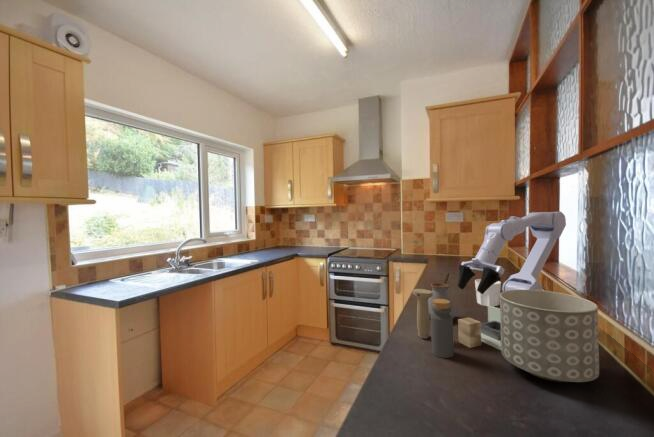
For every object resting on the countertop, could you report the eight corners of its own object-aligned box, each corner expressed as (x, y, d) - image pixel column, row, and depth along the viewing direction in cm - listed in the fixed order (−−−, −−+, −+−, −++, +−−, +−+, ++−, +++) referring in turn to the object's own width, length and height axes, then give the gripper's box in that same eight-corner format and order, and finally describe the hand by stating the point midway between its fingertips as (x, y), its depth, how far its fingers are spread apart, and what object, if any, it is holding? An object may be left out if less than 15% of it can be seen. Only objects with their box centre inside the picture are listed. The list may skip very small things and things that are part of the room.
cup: (506, 307, 120) (506, 283, 120) (482, 307, 120) (482, 284, 120) (493, 300, 130) (492, 278, 130) (471, 300, 130) (470, 279, 130)
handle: (428, 342, 88) (427, 294, 88) (410, 336, 93) (409, 290, 93) (436, 337, 92) (435, 291, 92) (418, 332, 96) (417, 288, 96)
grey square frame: (498, 327, 96) (498, 319, 96) (520, 335, 89) (520, 327, 89) (477, 331, 93) (477, 323, 93) (498, 340, 86) (498, 332, 86)
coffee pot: (452, 326, 101) (451, 284, 101) (420, 320, 108) (419, 280, 108) (464, 309, 118) (463, 273, 118) (435, 305, 125) (435, 271, 125)
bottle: (452, 350, 83) (451, 298, 83) (454, 359, 78) (453, 304, 78) (431, 347, 85) (430, 297, 85) (431, 356, 80) (430, 303, 79)
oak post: (469, 339, 90) (469, 317, 90) (481, 345, 86) (480, 322, 86) (458, 341, 88) (458, 319, 88) (469, 347, 84) (469, 324, 84)
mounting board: (490, 325, 100) (489, 305, 100) (536, 344, 85) (536, 320, 85) (461, 331, 96) (460, 310, 96) (504, 352, 81) (503, 327, 81)
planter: (608, 407, 57) (606, 317, 57) (498, 378, 68) (496, 303, 68) (591, 365, 73) (589, 295, 73) (503, 348, 84) (502, 286, 84)
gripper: (462, 246, 98) (444, 279, 95) (501, 248, 85) (481, 286, 81) (475, 257, 100) (458, 290, 97) (515, 261, 86) (496, 300, 83)
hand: (469, 289), depth 89 cm, fingers open, 7 cm apart
